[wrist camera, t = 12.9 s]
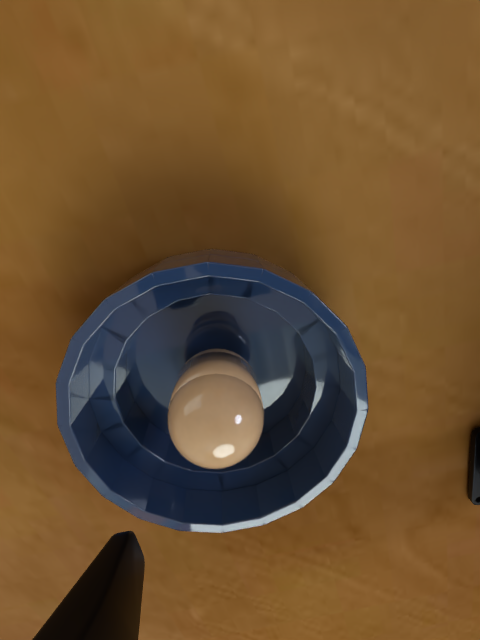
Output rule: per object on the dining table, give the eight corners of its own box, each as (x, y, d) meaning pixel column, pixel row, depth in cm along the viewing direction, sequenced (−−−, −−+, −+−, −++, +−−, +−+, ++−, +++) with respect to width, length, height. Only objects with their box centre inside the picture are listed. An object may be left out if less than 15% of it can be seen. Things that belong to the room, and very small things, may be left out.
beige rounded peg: (260, 395, 20) (278, 482, 14) (189, 409, 20) (174, 502, 14) (247, 329, 19) (261, 391, 12) (171, 343, 19) (145, 413, 13)
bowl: (342, 442, 22) (375, 504, 18) (135, 481, 22) (112, 554, 18) (320, 226, 18) (357, 232, 13) (60, 276, 18) (3, 300, 13)
